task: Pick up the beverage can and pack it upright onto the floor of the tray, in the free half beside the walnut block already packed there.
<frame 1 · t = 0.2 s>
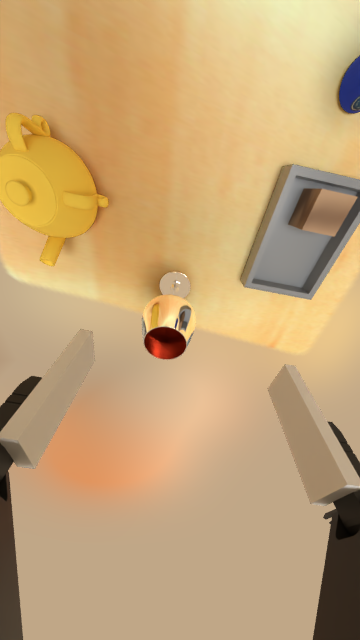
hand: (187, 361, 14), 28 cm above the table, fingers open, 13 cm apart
beverage can: (358, 86, 24), on the table
tray: (294, 238, 34), on the table
teapot: (62, 197, 33), on the table
wineglass: (174, 285, 41), on the table
walnut block: (310, 210, 31), point 1 cm above the table, touching tray
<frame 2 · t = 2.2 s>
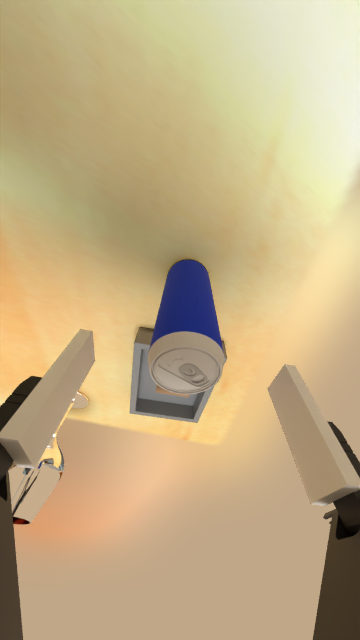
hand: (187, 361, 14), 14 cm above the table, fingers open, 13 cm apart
beverage can: (188, 277, 25), on the table
tray: (172, 372, 35), on the table
wineglass: (73, 398, 41), on the table
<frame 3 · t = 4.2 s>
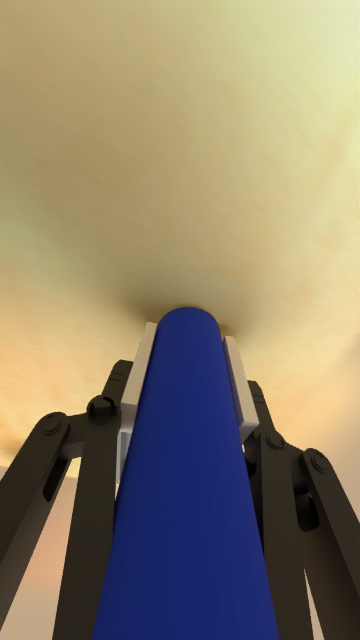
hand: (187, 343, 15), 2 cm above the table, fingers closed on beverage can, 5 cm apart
beverage can: (188, 328, 17), on the table, touching gripper
tray: (168, 434, 27), on the table
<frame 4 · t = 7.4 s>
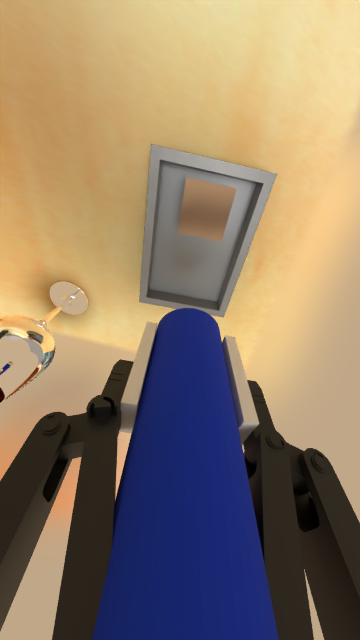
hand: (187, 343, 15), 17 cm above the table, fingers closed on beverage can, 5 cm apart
beverage can: (188, 328, 17), point 15 cm above the table, touching gripper
tray: (194, 243, 28), on the table
wineglass: (70, 298, 34), on the table
walnut block: (203, 207, 24), point 1 cm above the table, touching tray
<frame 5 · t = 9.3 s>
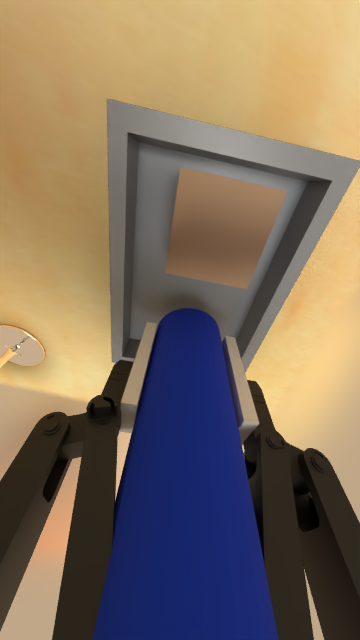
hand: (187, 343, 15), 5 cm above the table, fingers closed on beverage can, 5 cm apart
beverage can: (188, 328, 17), point 3 cm above the table, touching gripper
tray: (196, 275, 18), on the table
wineglass: (18, 345, 24), on the table
walnut block: (211, 222, 14), point 1 cm above the table, touching tray
when the fingers open (4 cm above the table, at t = 10.4 s): beverage can drops 1 cm, resting on tray.
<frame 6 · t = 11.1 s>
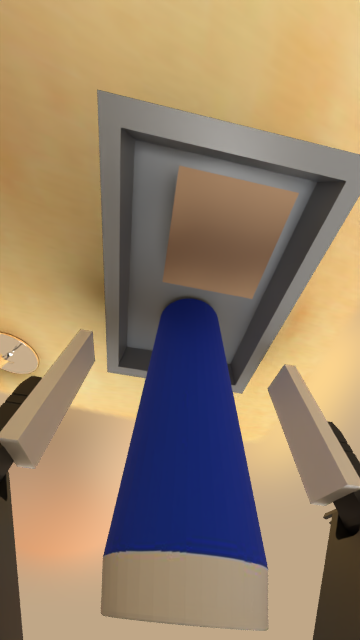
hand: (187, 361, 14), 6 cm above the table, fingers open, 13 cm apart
beverage can: (189, 319, 18), point 1 cm above the table, touching tray
tray: (197, 281, 17), on the table
wineglass: (11, 352, 23), on the table
walnut block: (212, 225, 13), point 1 cm above the table, touching tray
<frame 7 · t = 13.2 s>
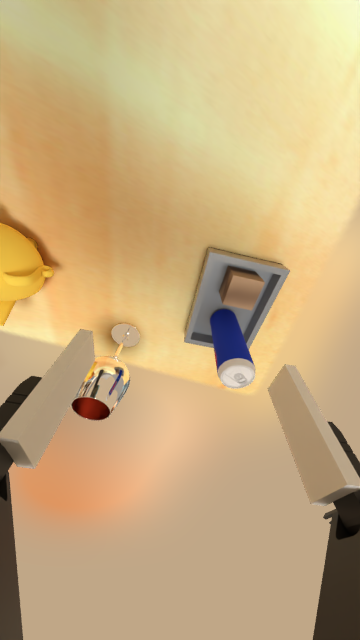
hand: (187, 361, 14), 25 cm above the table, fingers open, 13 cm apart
beverage can: (222, 318, 40), point 1 cm above the table, touching tray
tray: (227, 301, 38), on the table
teapot: (16, 260, 36), on the table
wineglass: (126, 334, 44), on the table
walnut block: (236, 281, 35), point 1 cm above the table, touching tray
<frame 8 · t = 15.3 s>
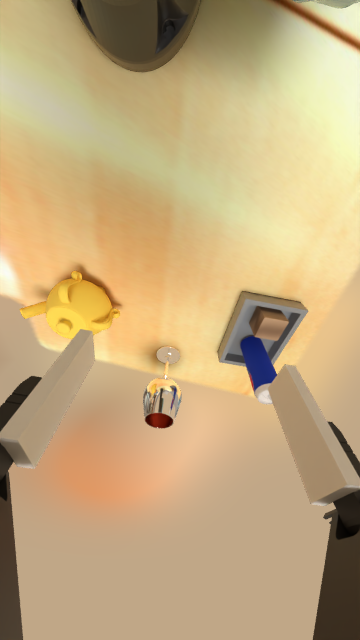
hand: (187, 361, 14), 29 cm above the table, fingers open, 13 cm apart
beverage can: (250, 342, 48), point 1 cm above the table, touching tray
tray: (254, 329, 47), on the table
teapot: (85, 302, 45), on the table
wineglass: (168, 354, 53), on the table
walnut block: (263, 316, 44), point 1 cm above the table, touching tray
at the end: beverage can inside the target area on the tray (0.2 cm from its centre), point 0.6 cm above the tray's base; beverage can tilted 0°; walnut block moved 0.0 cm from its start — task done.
